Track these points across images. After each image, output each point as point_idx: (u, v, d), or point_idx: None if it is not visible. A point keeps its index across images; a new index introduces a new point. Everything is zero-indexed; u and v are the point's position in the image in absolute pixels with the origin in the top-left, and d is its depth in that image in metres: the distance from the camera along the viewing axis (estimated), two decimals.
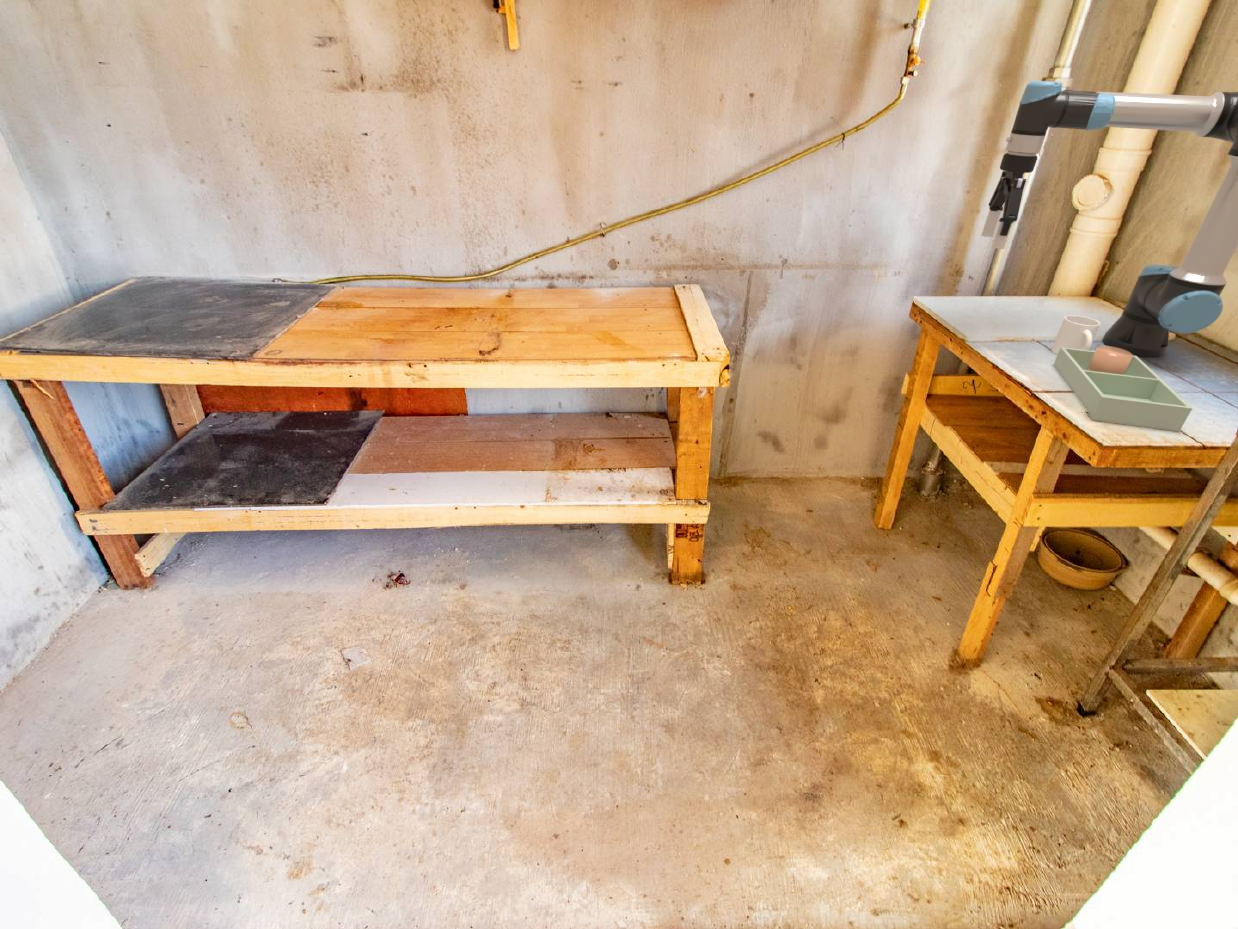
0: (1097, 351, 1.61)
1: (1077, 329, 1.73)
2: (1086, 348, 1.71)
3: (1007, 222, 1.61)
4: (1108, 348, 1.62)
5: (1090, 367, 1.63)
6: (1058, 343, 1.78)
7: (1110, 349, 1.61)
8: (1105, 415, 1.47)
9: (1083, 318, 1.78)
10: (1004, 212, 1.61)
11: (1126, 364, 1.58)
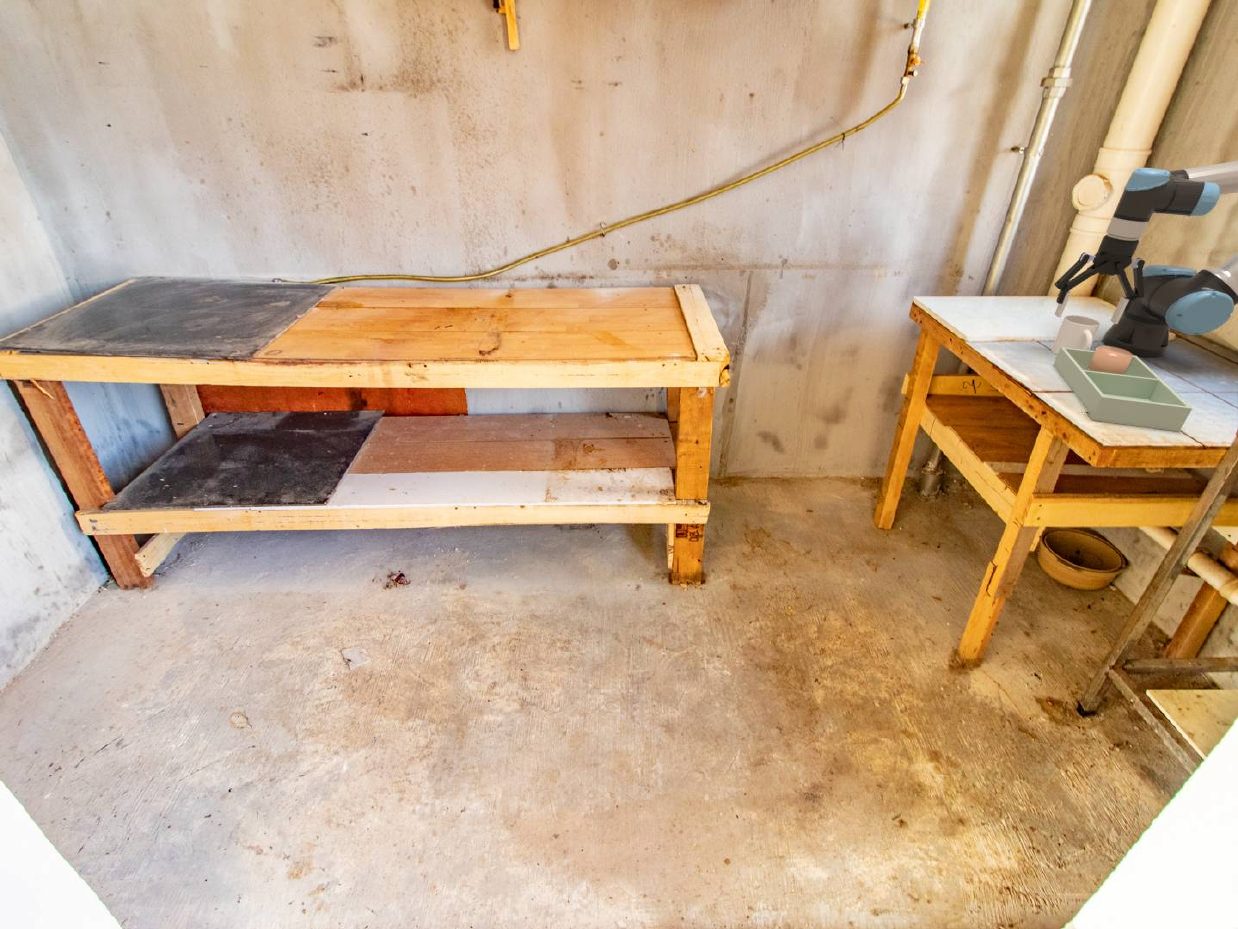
0: (1097, 351, 1.61)
1: (1077, 329, 1.73)
2: (1086, 348, 1.71)
3: (1060, 290, 1.71)
4: (1108, 348, 1.62)
5: (1090, 367, 1.63)
6: (1058, 343, 1.78)
7: (1110, 349, 1.61)
8: (1105, 415, 1.47)
9: (1083, 318, 1.78)
10: (1069, 282, 1.70)
11: (1126, 364, 1.58)
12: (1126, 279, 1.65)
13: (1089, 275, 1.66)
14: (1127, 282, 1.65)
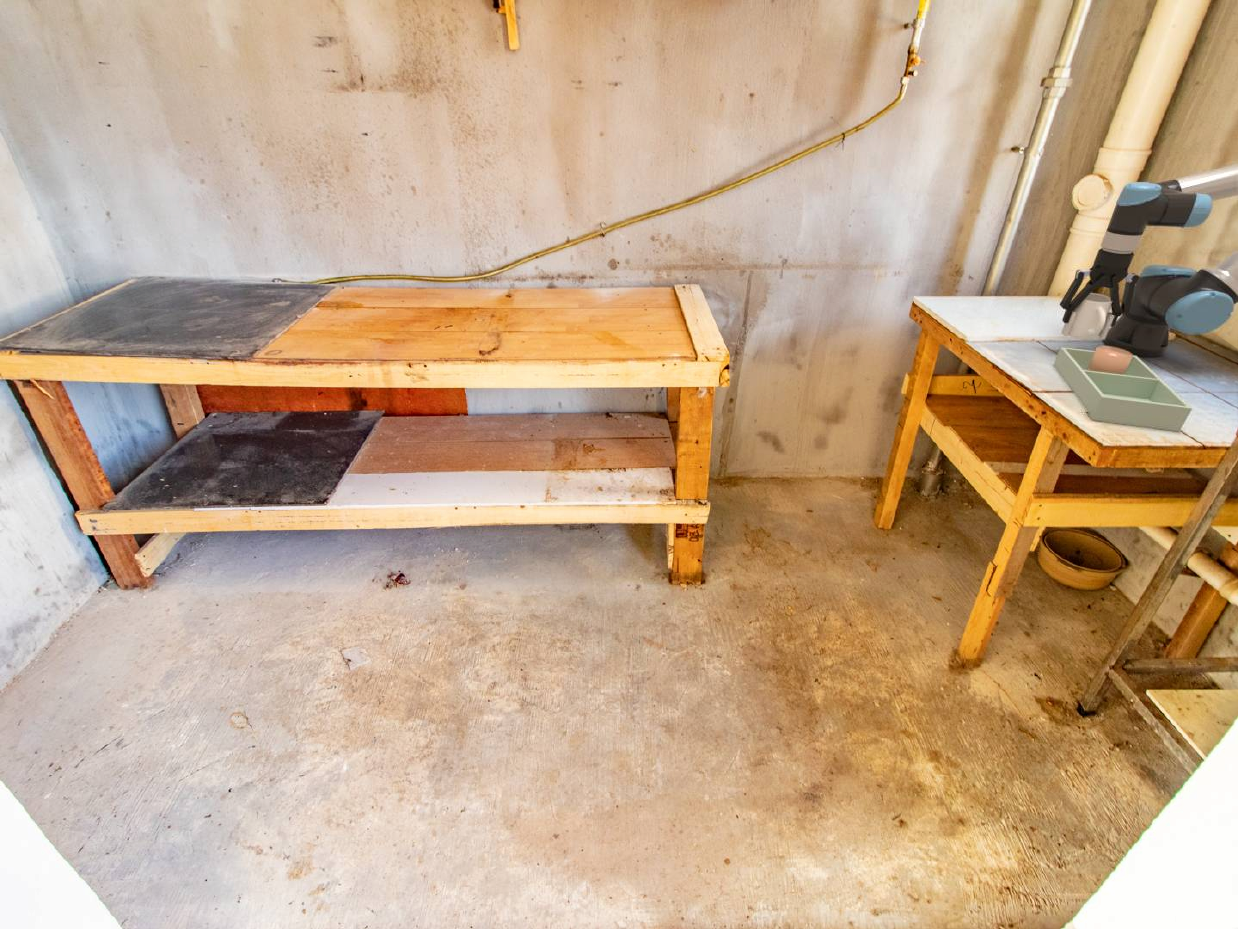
0: (1097, 351, 1.61)
1: (1090, 306, 1.69)
2: (1100, 325, 1.68)
3: None
4: (1108, 348, 1.62)
5: (1090, 367, 1.63)
6: None
7: (1110, 349, 1.61)
8: (1105, 415, 1.47)
9: (1096, 295, 1.74)
10: None
11: (1126, 364, 1.58)
12: (1117, 293, 1.67)
13: (1089, 291, 1.68)
14: (1117, 297, 1.67)
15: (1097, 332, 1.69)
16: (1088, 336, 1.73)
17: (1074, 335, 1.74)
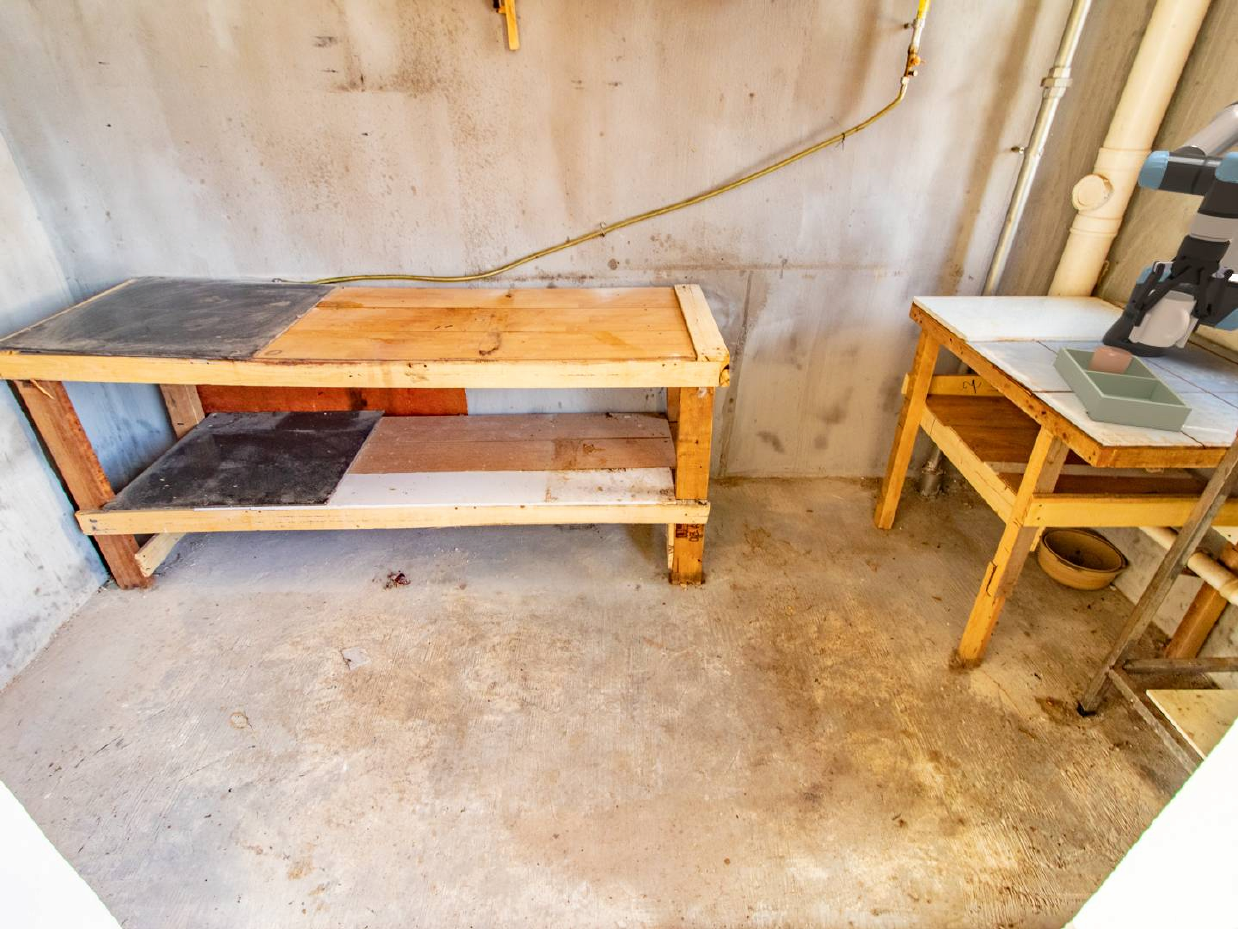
0: (1097, 351, 1.61)
1: (1169, 306, 1.38)
2: (1181, 330, 1.36)
3: (1137, 310, 1.41)
4: (1108, 348, 1.62)
5: (1090, 367, 1.63)
6: None
7: (1110, 349, 1.61)
8: (1105, 415, 1.47)
9: (1174, 293, 1.43)
10: (1146, 299, 1.41)
11: (1126, 364, 1.58)
12: (1204, 292, 1.35)
13: (1170, 288, 1.37)
14: (1204, 296, 1.36)
15: (1177, 338, 1.37)
16: (1163, 343, 1.41)
17: (1146, 341, 1.43)
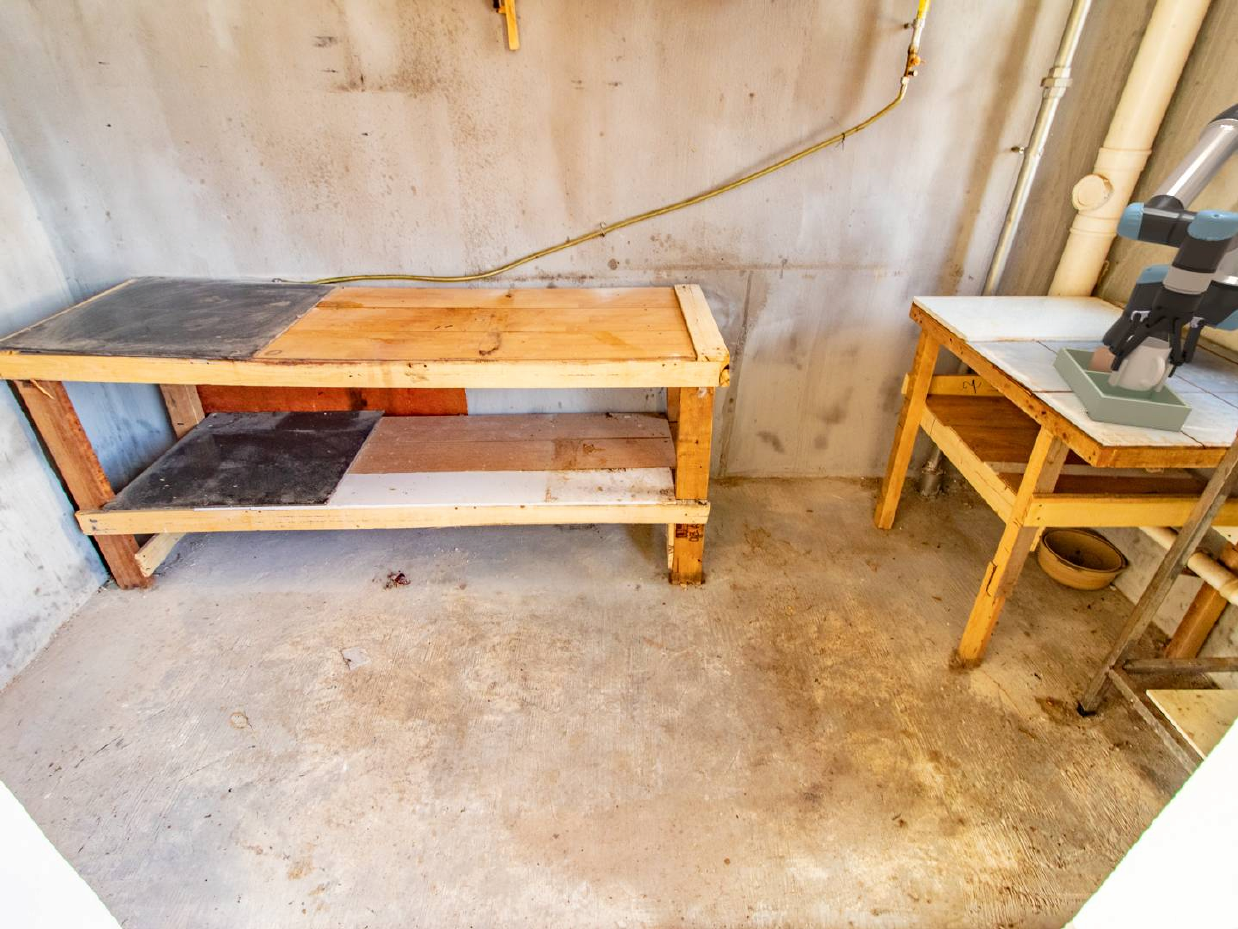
0: (1097, 351, 1.61)
1: (1146, 352, 1.43)
2: (1157, 376, 1.42)
3: (1115, 355, 1.47)
4: (1108, 348, 1.62)
5: (1090, 367, 1.63)
6: None
7: None
8: (1105, 415, 1.47)
9: (1151, 339, 1.48)
10: (1124, 345, 1.47)
11: None
12: (1179, 340, 1.41)
13: (1146, 335, 1.42)
14: (1179, 344, 1.41)
15: (1153, 384, 1.43)
16: (1141, 387, 1.47)
17: (1124, 385, 1.48)
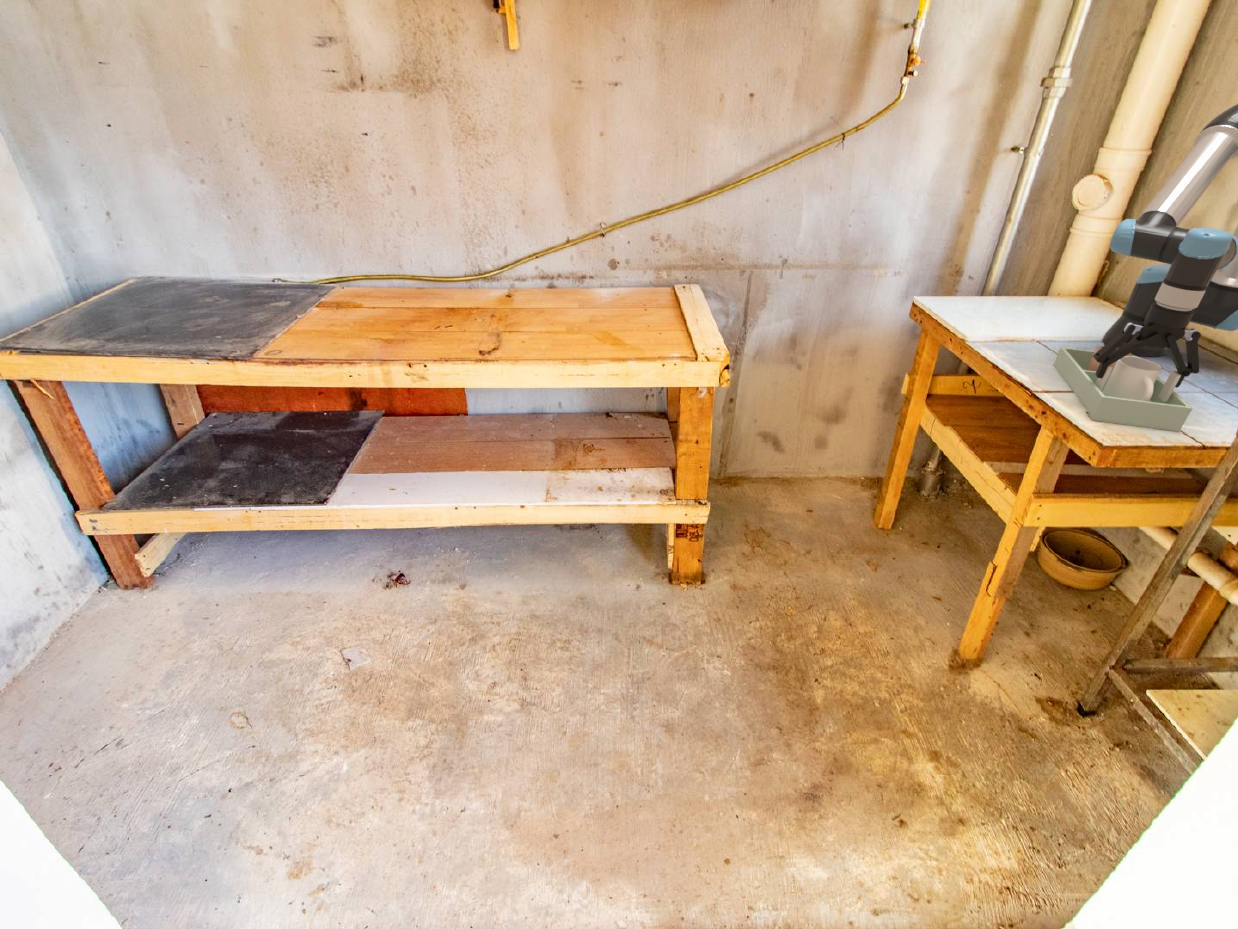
0: (1097, 351, 1.61)
1: (1135, 374, 1.46)
2: (1146, 397, 1.45)
3: (1100, 363, 1.49)
4: None
5: (1090, 367, 1.63)
6: (1111, 389, 1.51)
7: None
8: (1105, 415, 1.47)
9: (1140, 360, 1.51)
10: (1110, 354, 1.48)
11: None
12: (1178, 353, 1.42)
13: (1134, 348, 1.44)
14: (1179, 356, 1.43)
15: None
16: None
17: None
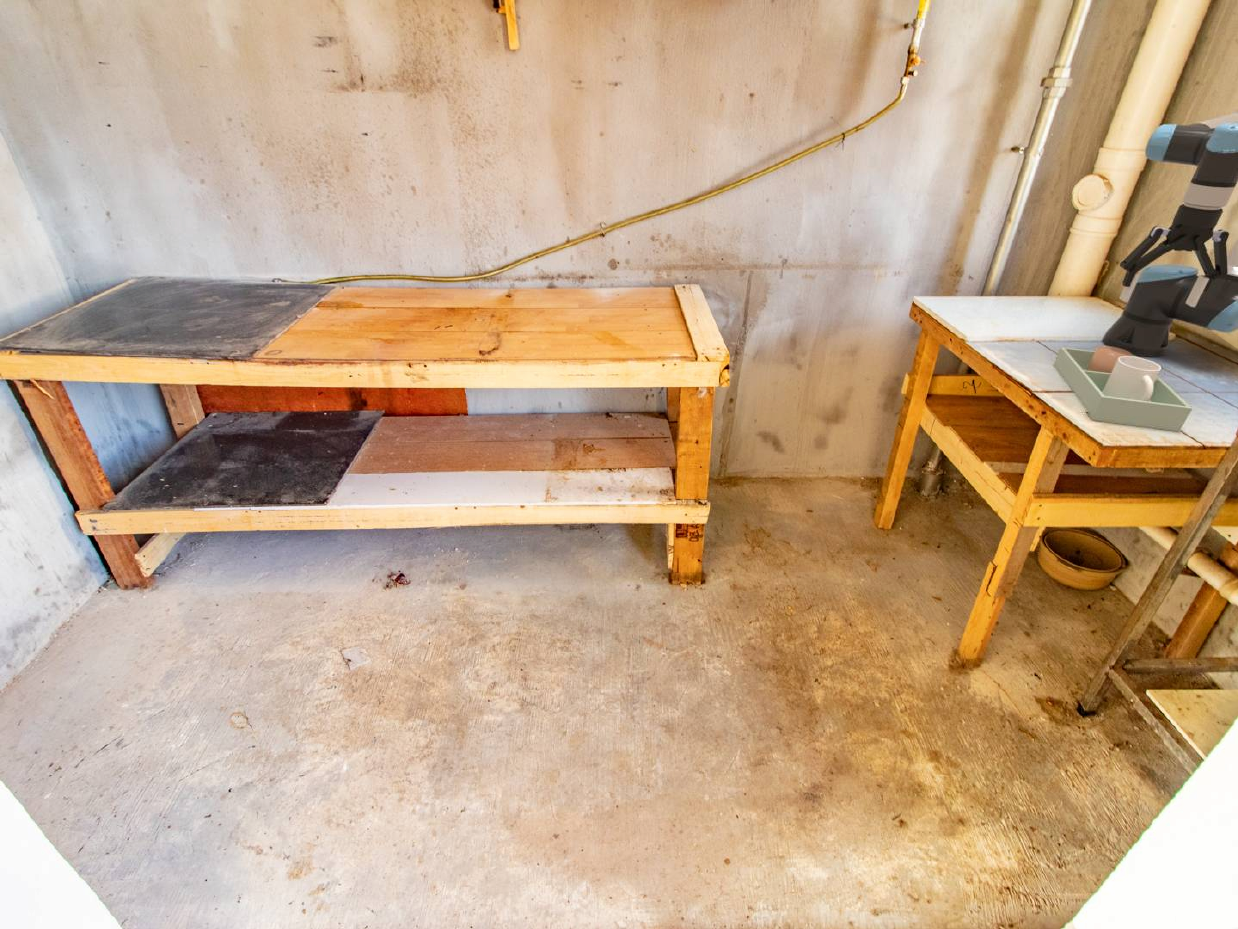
0: (1097, 351, 1.61)
1: (1135, 374, 1.46)
2: (1146, 397, 1.45)
3: (1127, 271, 1.48)
4: (1108, 348, 1.62)
5: (1090, 367, 1.63)
6: (1110, 389, 1.51)
7: (1110, 349, 1.61)
8: (1105, 415, 1.47)
9: (1140, 360, 1.51)
10: (1137, 261, 1.47)
11: None
12: (1206, 255, 1.42)
13: (1162, 252, 1.43)
14: (1207, 258, 1.42)
15: None
16: None
17: None
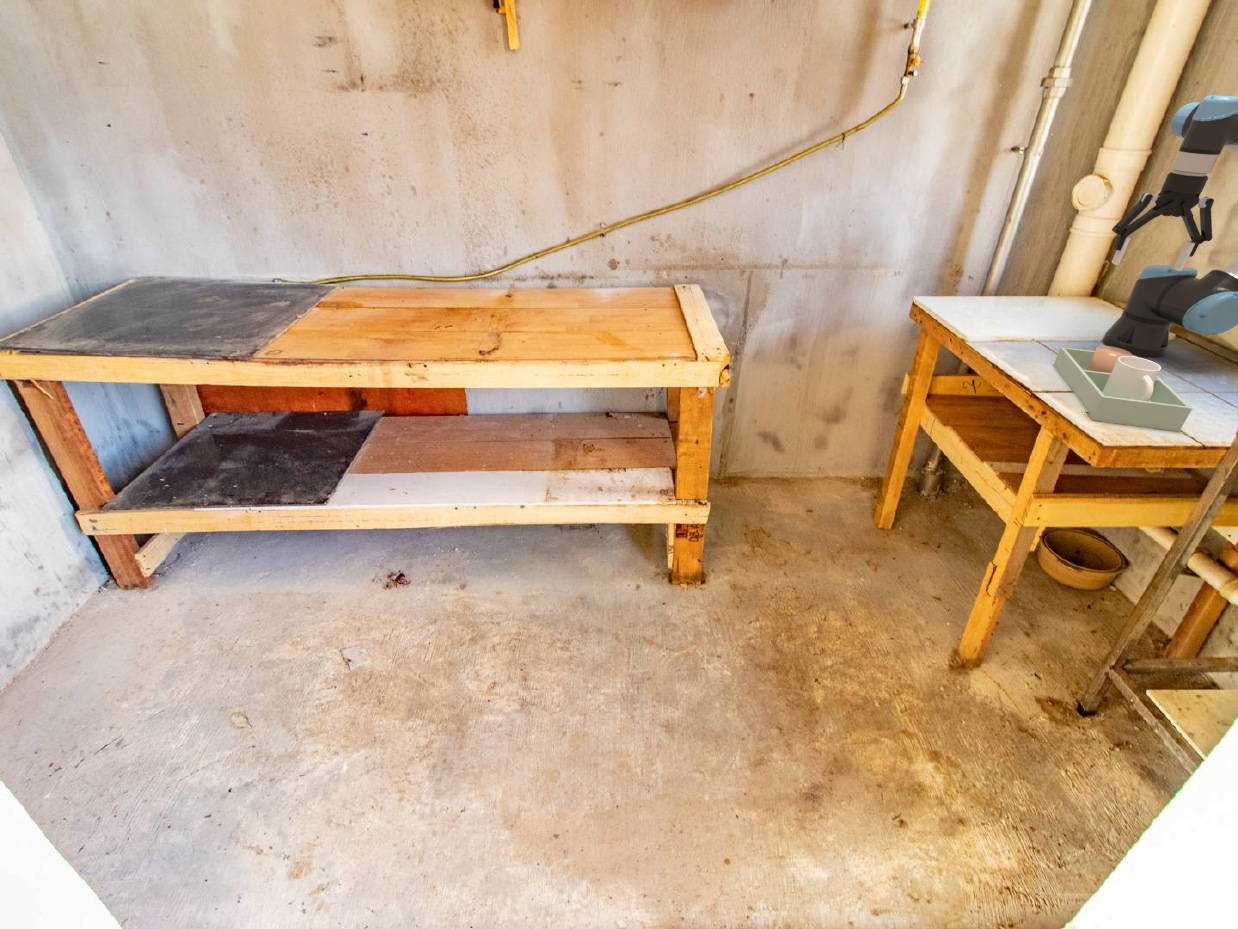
0: (1097, 351, 1.61)
1: (1135, 374, 1.46)
2: (1146, 397, 1.45)
3: (1118, 235, 1.58)
4: (1108, 348, 1.62)
5: (1090, 367, 1.63)
6: (1110, 389, 1.51)
7: (1110, 349, 1.61)
8: (1105, 415, 1.47)
9: (1140, 360, 1.51)
10: None
11: None
12: (1192, 220, 1.52)
13: (1151, 217, 1.54)
14: (1193, 224, 1.52)
15: None
16: None
17: None
